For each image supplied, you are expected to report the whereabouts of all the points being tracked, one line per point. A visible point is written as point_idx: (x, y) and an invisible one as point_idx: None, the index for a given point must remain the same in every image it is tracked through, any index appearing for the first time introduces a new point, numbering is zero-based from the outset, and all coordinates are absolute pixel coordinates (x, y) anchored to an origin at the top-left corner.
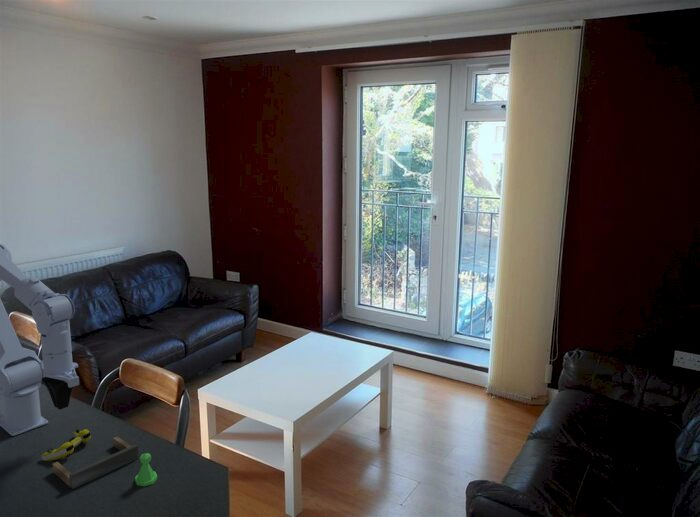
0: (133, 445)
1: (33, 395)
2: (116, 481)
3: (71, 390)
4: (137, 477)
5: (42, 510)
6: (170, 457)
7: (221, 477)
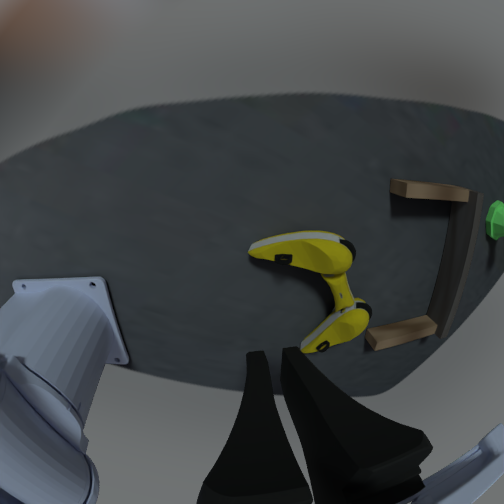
0: (477, 198)
1: (66, 385)
2: None
3: (357, 404)
4: (494, 233)
5: (423, 360)
6: (488, 144)
7: None
